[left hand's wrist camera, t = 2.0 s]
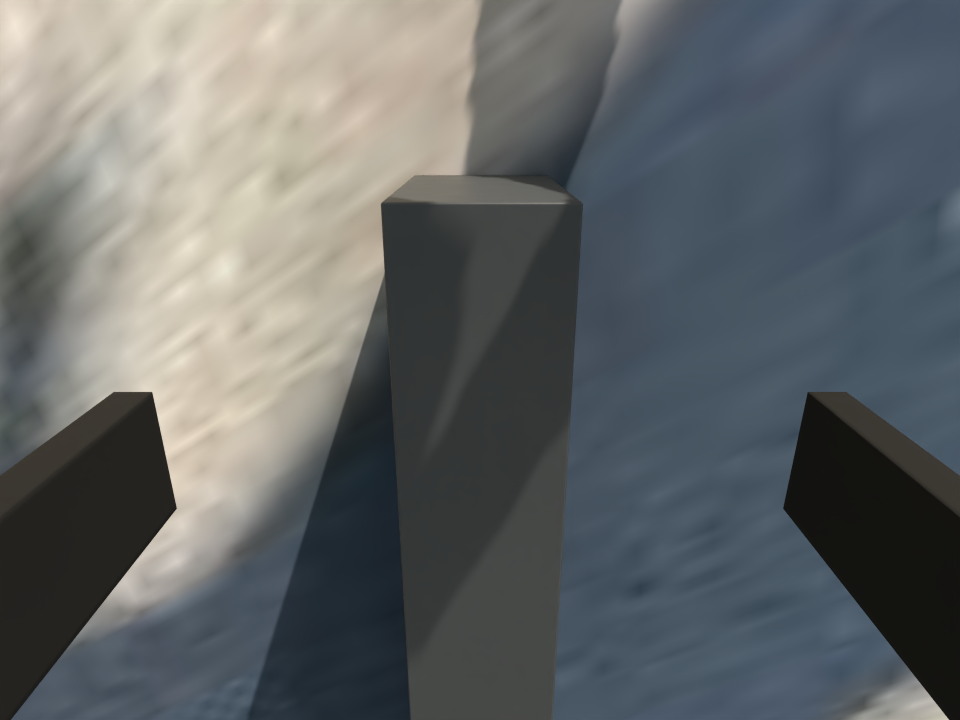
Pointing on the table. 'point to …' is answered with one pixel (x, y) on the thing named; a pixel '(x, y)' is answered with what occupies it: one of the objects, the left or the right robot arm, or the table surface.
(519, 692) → the beam
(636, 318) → the table surface
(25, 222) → the table surface
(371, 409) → the table surface
